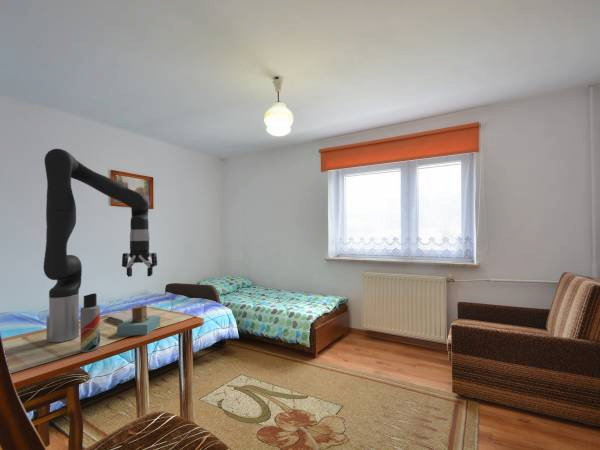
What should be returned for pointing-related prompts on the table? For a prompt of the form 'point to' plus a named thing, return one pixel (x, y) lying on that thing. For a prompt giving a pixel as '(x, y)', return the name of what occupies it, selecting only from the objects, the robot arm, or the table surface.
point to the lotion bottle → (90, 324)
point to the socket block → (138, 326)
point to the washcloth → (120, 316)
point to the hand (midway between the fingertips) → (139, 276)
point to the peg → (139, 314)
